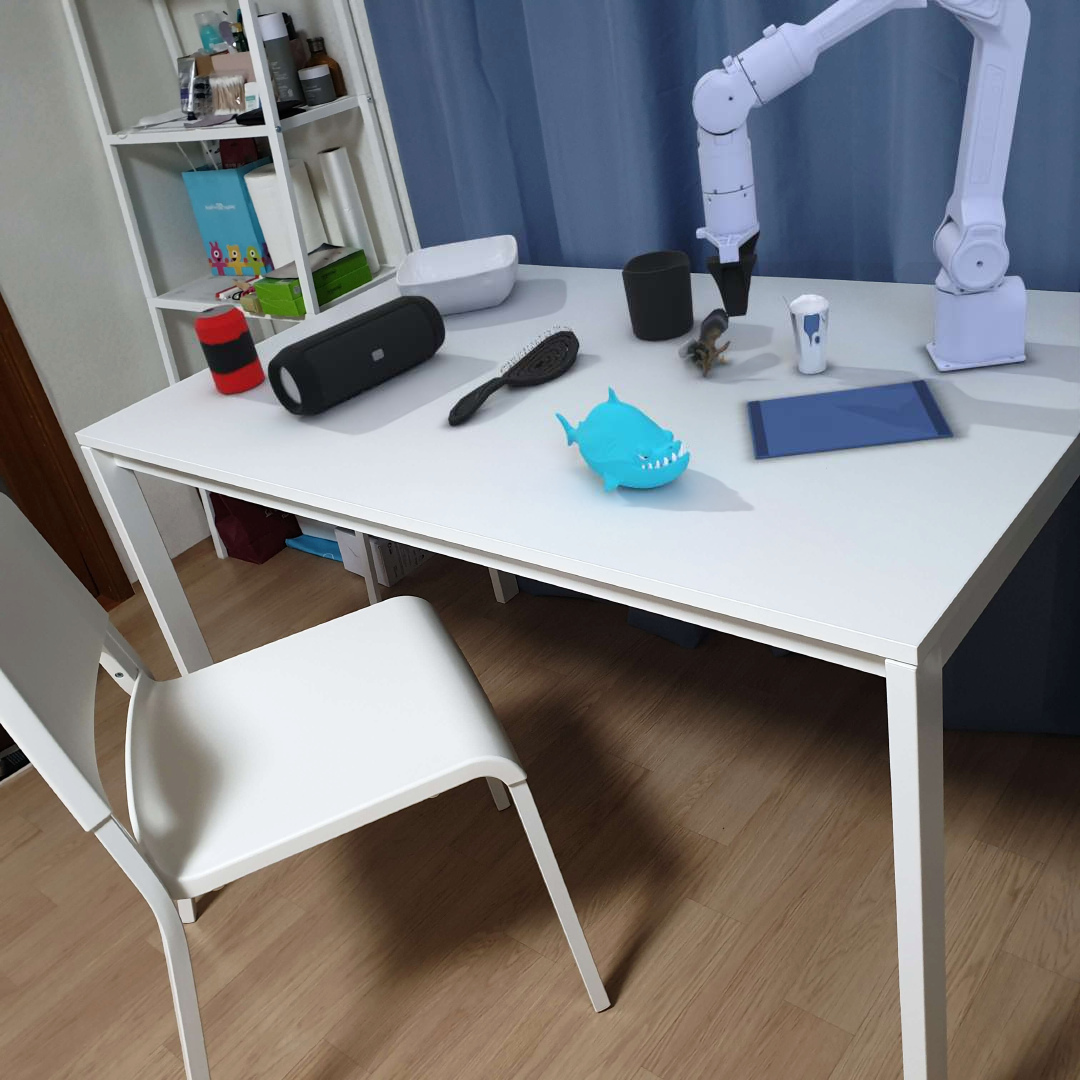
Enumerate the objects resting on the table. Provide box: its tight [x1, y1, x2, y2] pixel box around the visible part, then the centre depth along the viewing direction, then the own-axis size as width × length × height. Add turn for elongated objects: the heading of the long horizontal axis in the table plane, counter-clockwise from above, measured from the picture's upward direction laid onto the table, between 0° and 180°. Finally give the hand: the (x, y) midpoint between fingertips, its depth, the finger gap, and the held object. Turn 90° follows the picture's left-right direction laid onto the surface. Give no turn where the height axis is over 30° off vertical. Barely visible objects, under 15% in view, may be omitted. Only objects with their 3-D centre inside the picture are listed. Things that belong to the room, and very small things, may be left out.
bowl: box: [395, 234, 519, 317], centre depth 177 cm, size 20×20×8 cm
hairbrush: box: [447, 325, 581, 427], centre depth 140 cm, size 8×4×25 cm
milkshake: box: [781, 293, 830, 375], centre depth 126 cm, size 4×5×10 cm
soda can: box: [193, 304, 266, 395], centre depth 160 cm, size 8×8×12 cm
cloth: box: [746, 379, 954, 460], centre depth 115 cm, size 20×14×1 cm
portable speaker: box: [267, 295, 446, 416], centre depth 150 cm, size 26×10×10 cm, turn 134°
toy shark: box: [555, 386, 691, 492], centre depth 110 cm, size 10×18×11 cm, turn 45°
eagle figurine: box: [677, 308, 731, 377], centre depth 134 cm, size 8×7×9 cm
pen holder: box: [621, 250, 694, 342], centre depth 147 cm, size 9×9×10 cm
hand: (738, 303), depth 123 cm, fingers open, 7 cm apart
